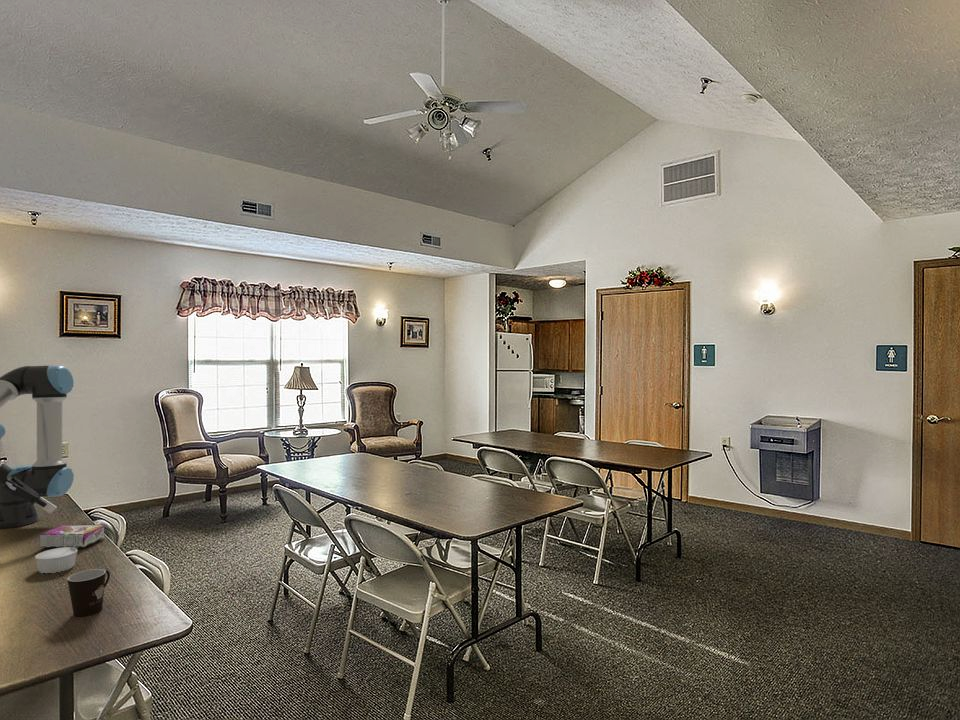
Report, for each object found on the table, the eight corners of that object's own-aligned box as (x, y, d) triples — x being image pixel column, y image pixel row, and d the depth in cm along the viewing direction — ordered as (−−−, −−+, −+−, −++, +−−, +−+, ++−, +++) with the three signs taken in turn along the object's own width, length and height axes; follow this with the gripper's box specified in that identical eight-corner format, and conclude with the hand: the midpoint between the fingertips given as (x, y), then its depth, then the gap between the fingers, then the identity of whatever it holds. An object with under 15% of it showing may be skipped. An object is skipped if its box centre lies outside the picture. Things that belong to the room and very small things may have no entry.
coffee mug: (78, 622, 152) (76, 583, 152) (62, 614, 157) (61, 577, 157) (124, 604, 162) (123, 569, 162) (108, 598, 167) (107, 563, 167)
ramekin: (81, 568, 191) (81, 552, 191) (39, 578, 183) (39, 561, 183) (73, 560, 199) (72, 544, 198) (32, 569, 190) (31, 553, 190)
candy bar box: (62, 524, 220) (105, 524, 220) (62, 537, 220) (105, 537, 220) (38, 533, 209) (83, 533, 209) (39, 547, 209) (84, 548, 209)
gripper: (-15, 476, 210) (45, 514, 220) (-19, 483, 199) (44, 523, 209) (4, 460, 213) (62, 498, 223) (0, 465, 202) (62, 505, 212)
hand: (53, 510), depth 216 cm, fingers closed
